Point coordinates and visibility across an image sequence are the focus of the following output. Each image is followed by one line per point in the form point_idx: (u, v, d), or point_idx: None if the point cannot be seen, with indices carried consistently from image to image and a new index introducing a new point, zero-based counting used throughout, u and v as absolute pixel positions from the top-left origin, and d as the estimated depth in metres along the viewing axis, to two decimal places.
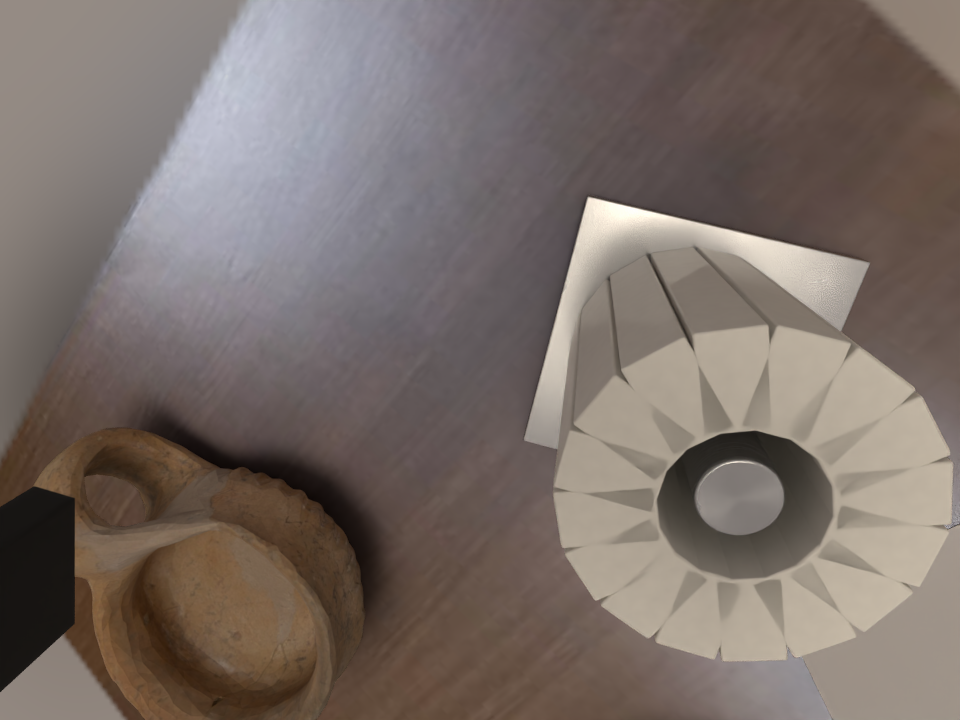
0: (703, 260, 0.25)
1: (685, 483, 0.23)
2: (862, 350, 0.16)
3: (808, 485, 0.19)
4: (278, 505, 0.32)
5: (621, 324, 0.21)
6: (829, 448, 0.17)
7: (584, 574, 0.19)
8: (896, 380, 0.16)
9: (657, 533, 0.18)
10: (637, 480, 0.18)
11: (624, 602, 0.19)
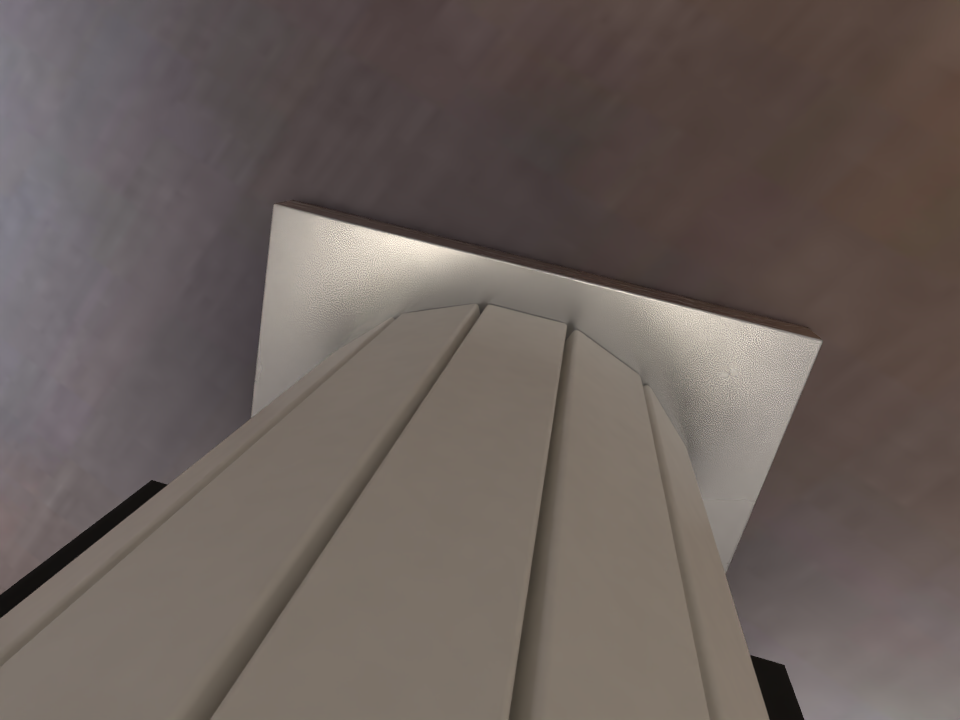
0: (437, 350, 0.11)
1: None
2: None
3: None
4: None
5: (30, 596, 0.07)
6: None
7: None
8: None
9: None
10: None
11: None
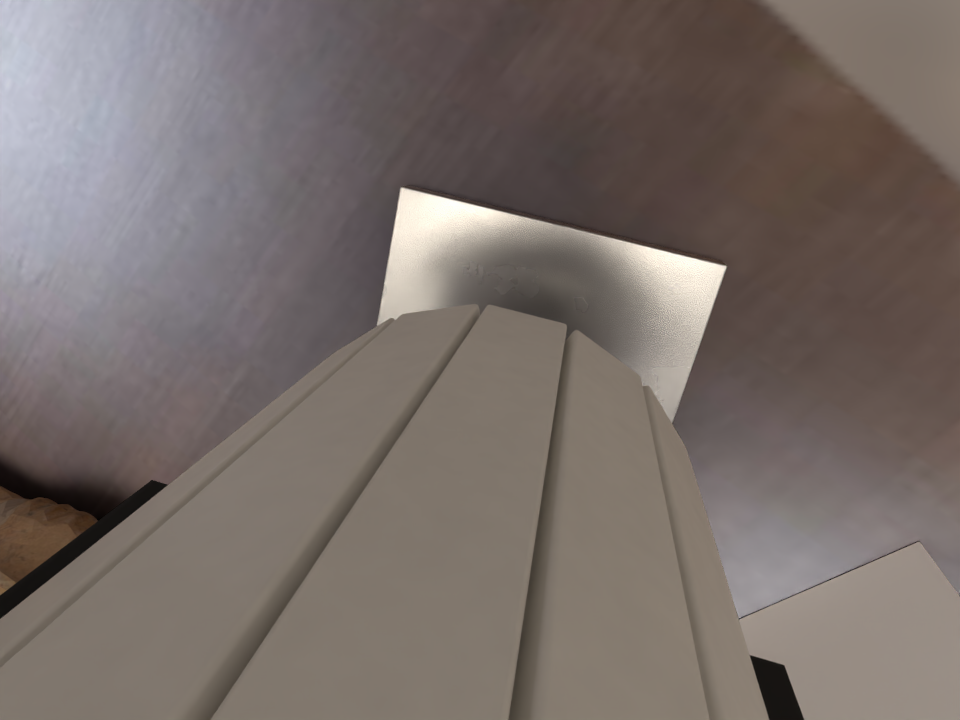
0: (438, 350, 0.11)
1: None
2: None
3: None
4: (62, 545, 0.27)
5: (31, 595, 0.07)
6: None
7: None
8: None
9: None
10: None
11: None
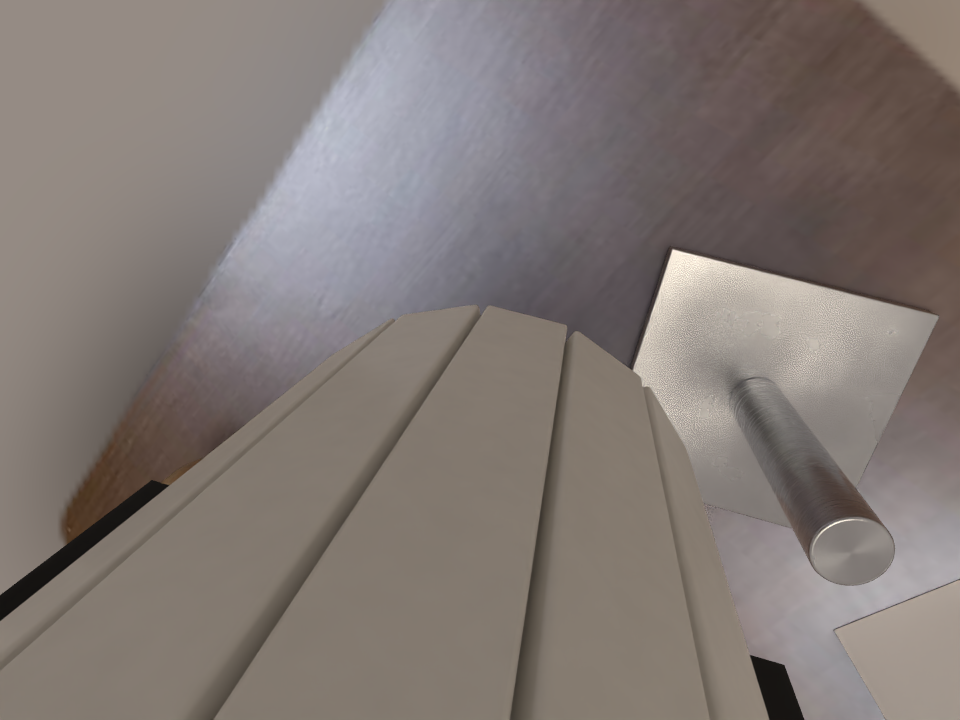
0: (438, 351, 0.11)
1: None
2: None
3: None
4: None
5: (31, 598, 0.07)
6: None
7: None
8: None
9: None
10: None
11: None
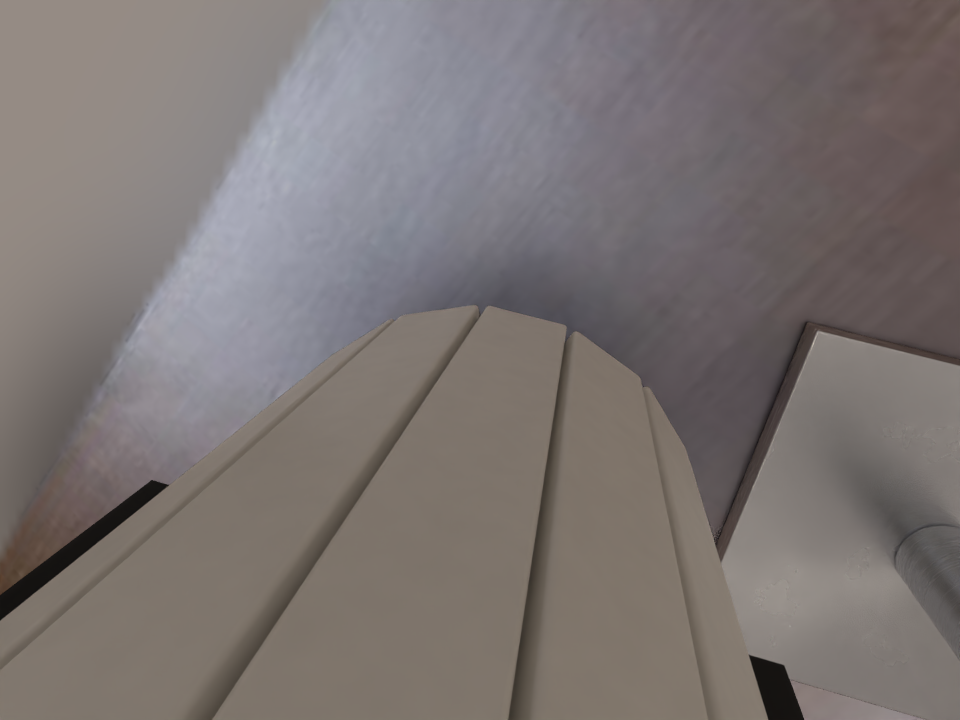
0: (437, 352, 0.11)
1: None
2: None
3: None
4: None
5: (29, 599, 0.07)
6: None
7: None
8: None
9: None
10: None
11: None
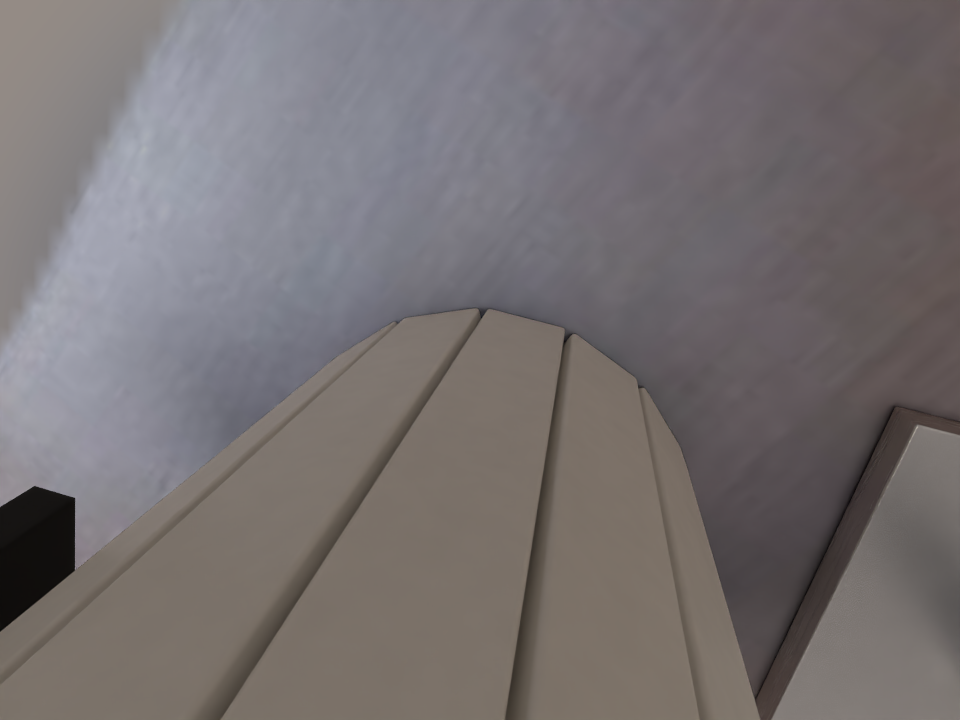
0: (440, 354, 0.11)
1: None
2: None
3: None
4: None
5: (56, 588, 0.07)
6: None
7: None
8: None
9: None
10: None
11: None
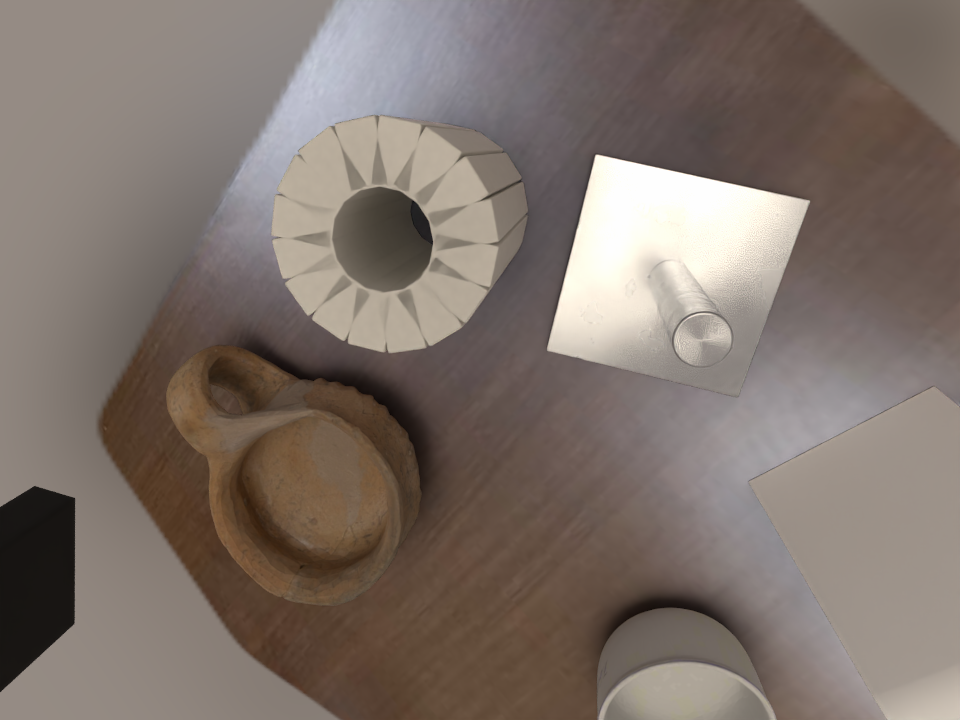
0: None
1: (402, 268, 0.34)
2: (427, 128, 0.26)
3: None
4: (355, 401, 0.40)
5: None
6: (421, 194, 0.27)
7: (298, 296, 0.30)
8: (449, 146, 0.26)
9: (335, 262, 0.29)
10: (318, 226, 0.28)
11: (324, 315, 0.30)
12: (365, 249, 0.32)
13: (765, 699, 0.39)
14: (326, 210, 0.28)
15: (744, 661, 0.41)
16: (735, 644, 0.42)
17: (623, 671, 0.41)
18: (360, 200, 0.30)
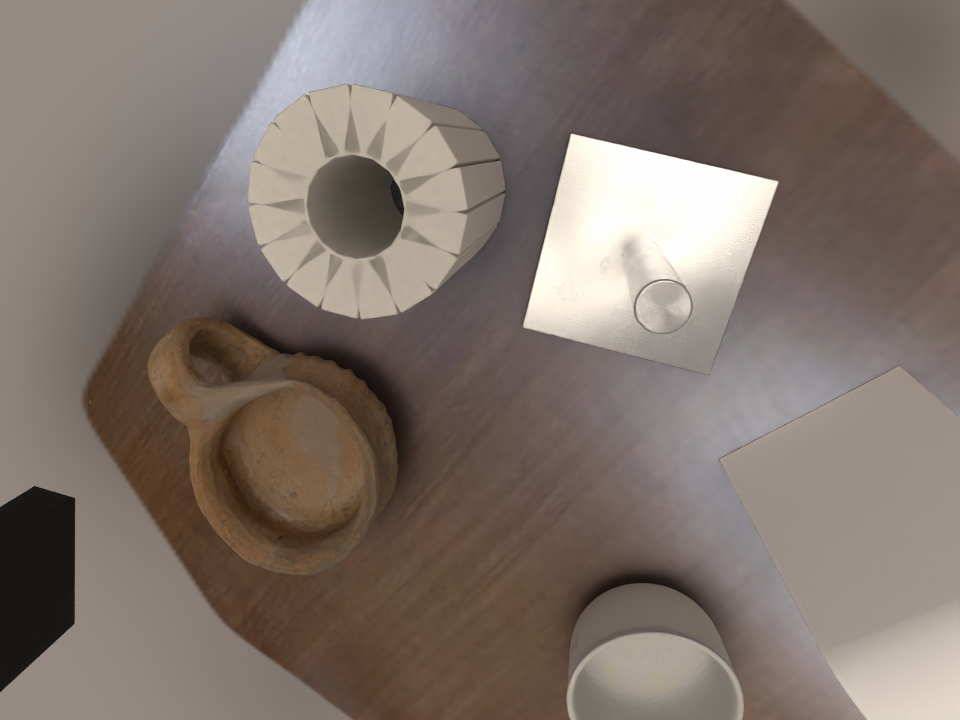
0: None
1: (378, 240, 0.35)
2: (398, 97, 0.27)
3: None
4: (334, 374, 0.41)
5: None
6: (392, 162, 0.28)
7: (273, 262, 0.30)
8: (419, 115, 0.27)
9: (309, 229, 0.30)
10: (293, 193, 0.29)
11: (299, 281, 0.30)
12: (341, 220, 0.33)
13: (730, 669, 0.40)
14: (301, 177, 0.29)
15: (712, 634, 0.42)
16: (704, 618, 0.43)
17: (593, 642, 0.41)
18: (335, 170, 0.31)
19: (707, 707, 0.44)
